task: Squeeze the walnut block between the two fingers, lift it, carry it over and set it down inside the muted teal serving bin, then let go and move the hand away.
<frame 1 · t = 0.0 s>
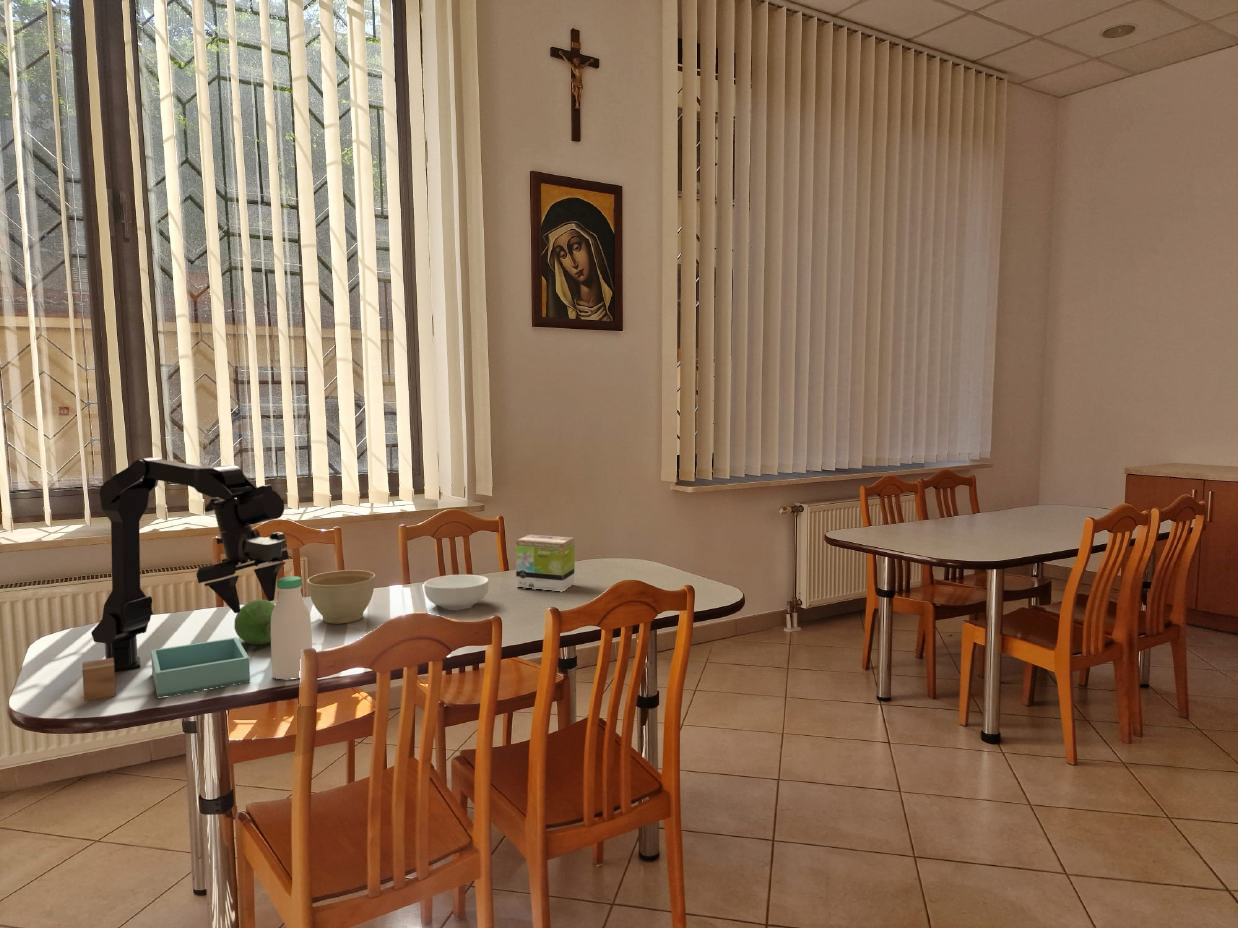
hand: (255, 606, 158), 15 cm above the table, tool pointing down, fingers open, 9 cm apart
planter bowl: (342, 619, 204), on the table
milk bottle: (292, 675, 164), on the table
cereal bowl: (457, 606, 217), on the table
walnut block: (100, 694, 154), on the table
tea box: (545, 587, 238), on the table
fruit: (261, 645, 184), on the table
teal bin: (200, 678, 162), on the table
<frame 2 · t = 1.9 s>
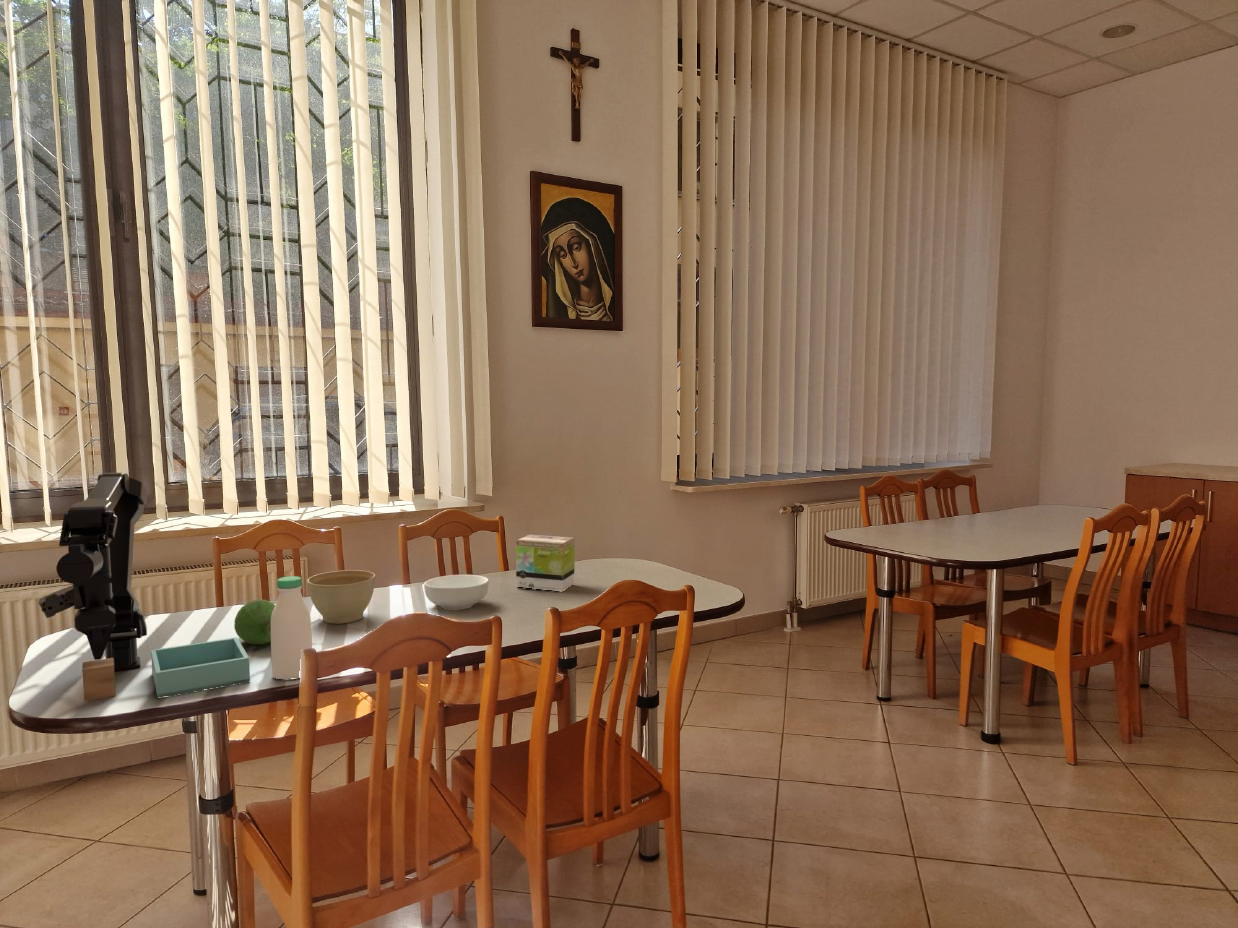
hand: (97, 652, 153), 8 cm above the table, tool pointing down, fingers open, 9 cm apart
nothing on the table moved.
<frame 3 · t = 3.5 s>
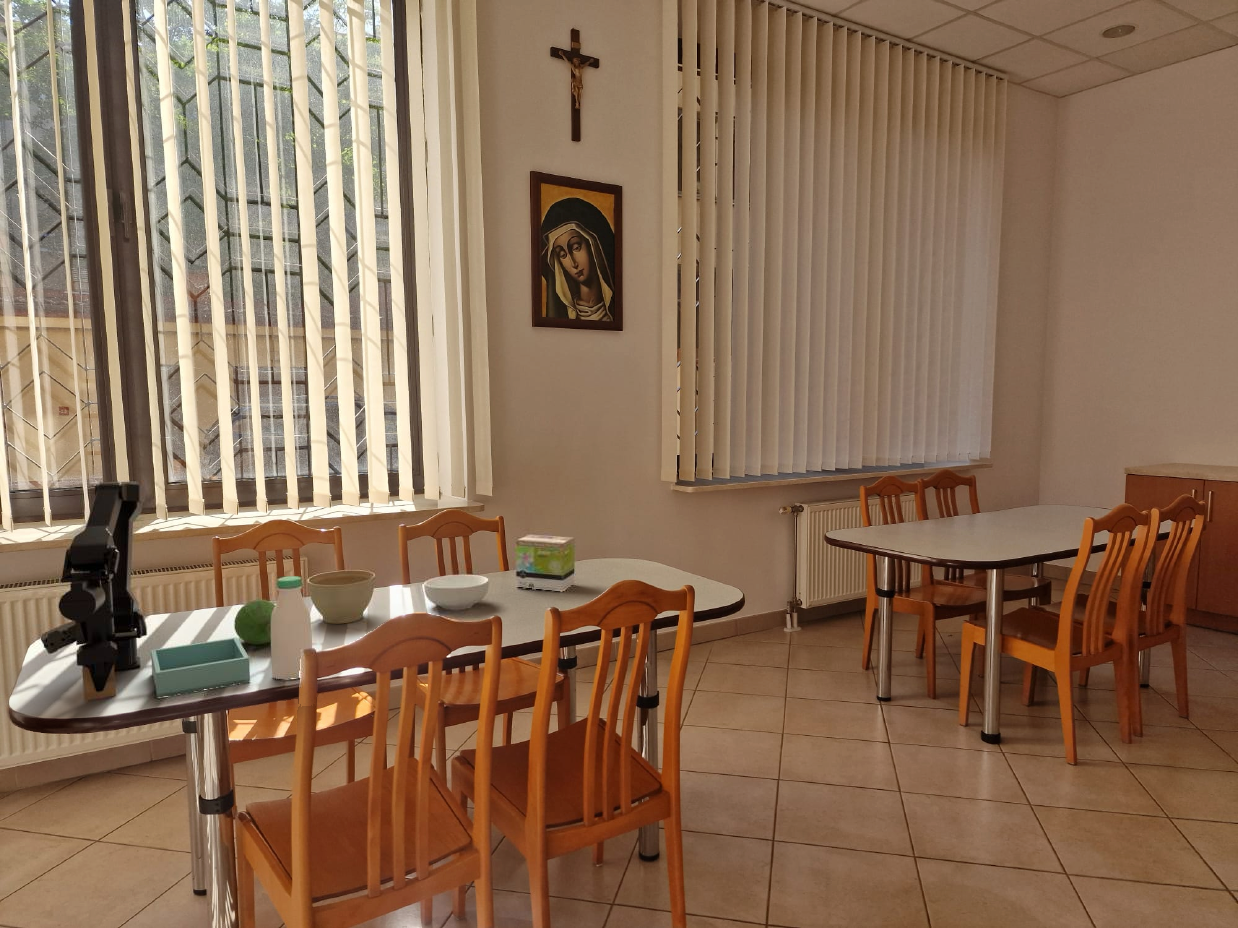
hand: (99, 686, 154), 1 cm above the table, tool pointing down, fingers closed on walnut block, 5 cm apart
walnut block: (99, 693, 154), on the table, touching gripper
everything else where it was.
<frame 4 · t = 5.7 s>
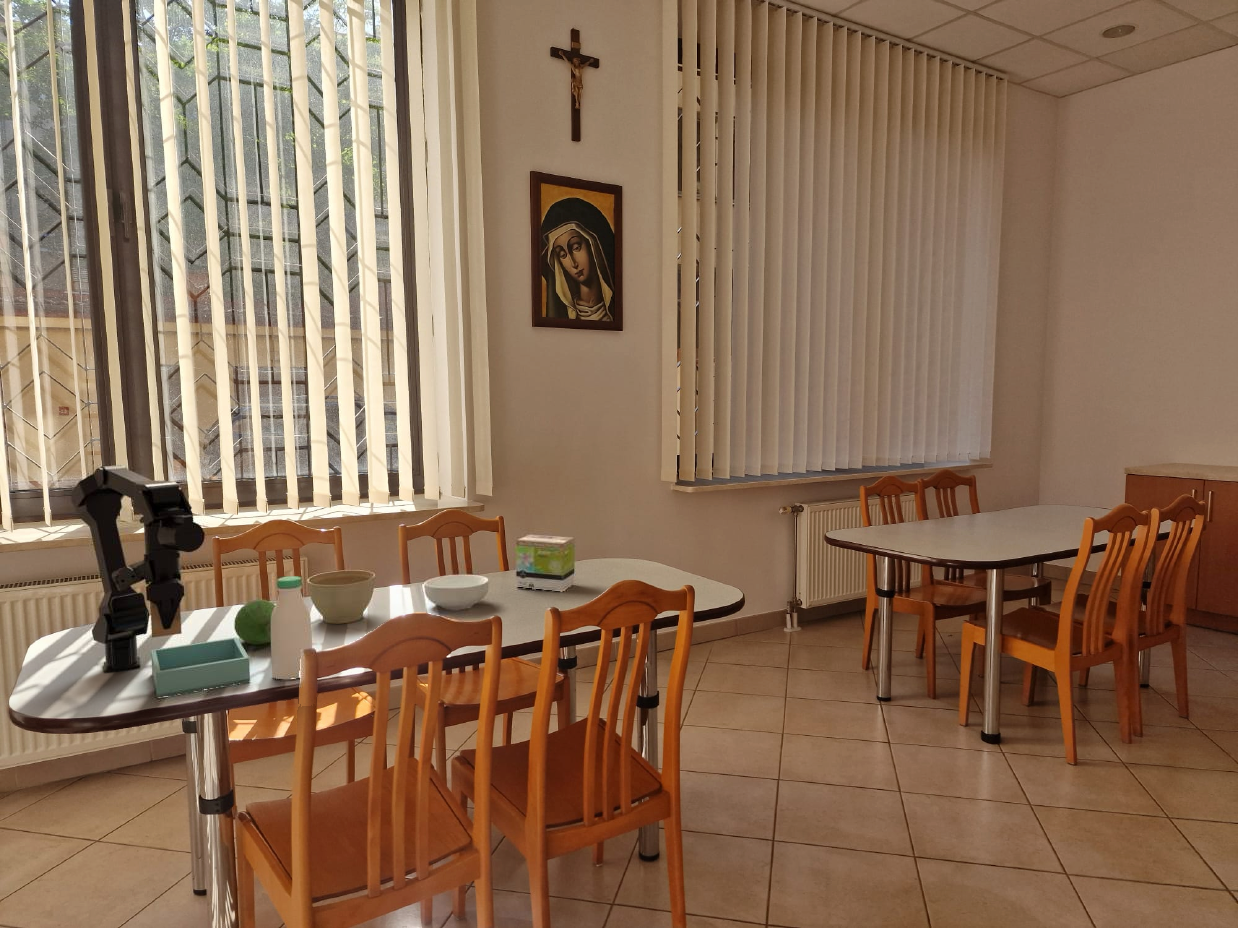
hand: (166, 625, 158), 12 cm above the table, tool pointing down, fingers closed on walnut block, 5 cm apart
walnut block: (166, 632, 158), point 10 cm above the table, touching gripper
everything else where it was.
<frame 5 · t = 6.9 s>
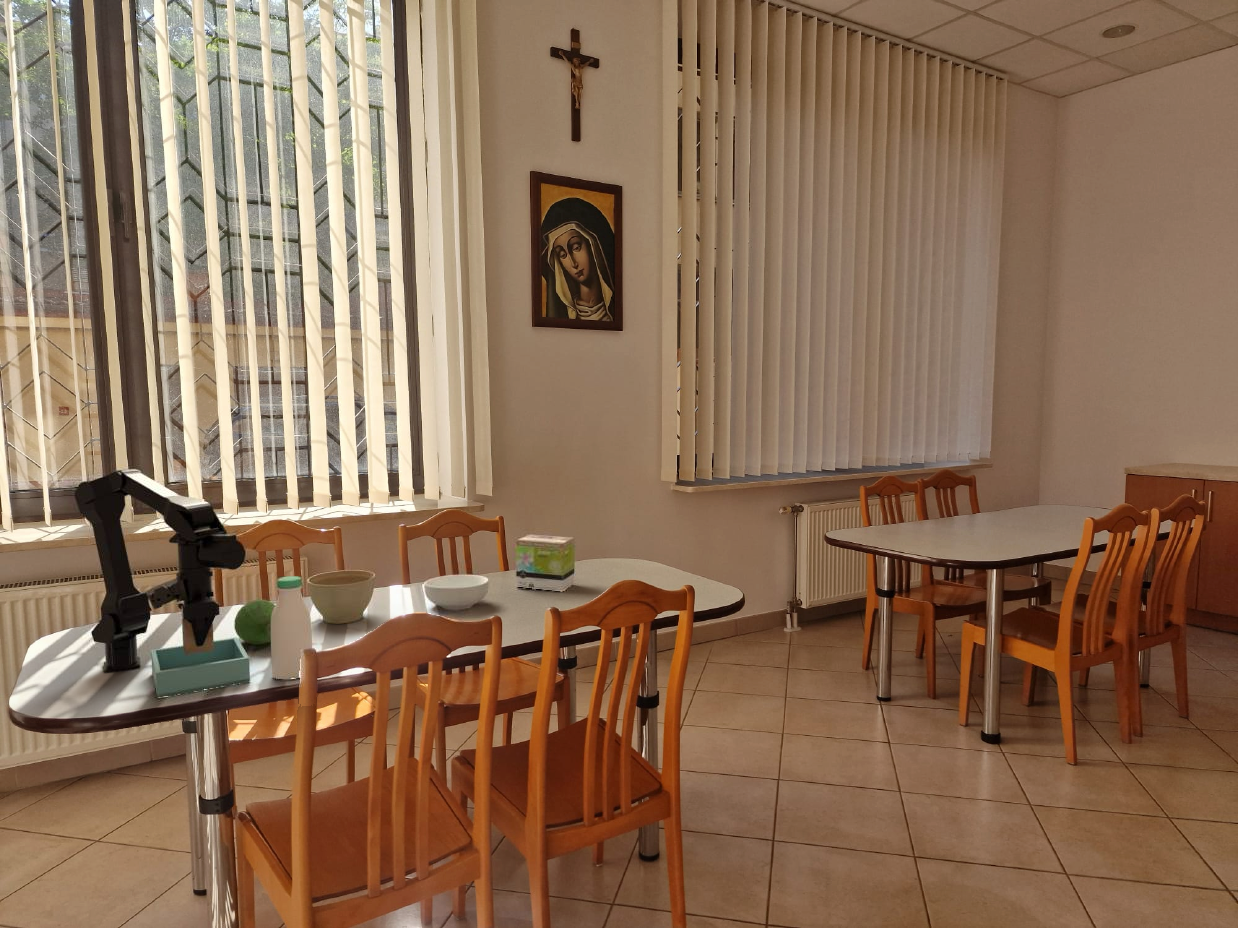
hand: (198, 642, 161), 7 cm above the table, tool pointing down, fingers closed on walnut block, 5 cm apart
walnut block: (198, 648, 162), point 6 cm above the table, touching gripper
everything else where it was.
when the fingers open (4 cm above the table, at t = 7.9 s): walnut block drops 2 cm, resting on teal bin.
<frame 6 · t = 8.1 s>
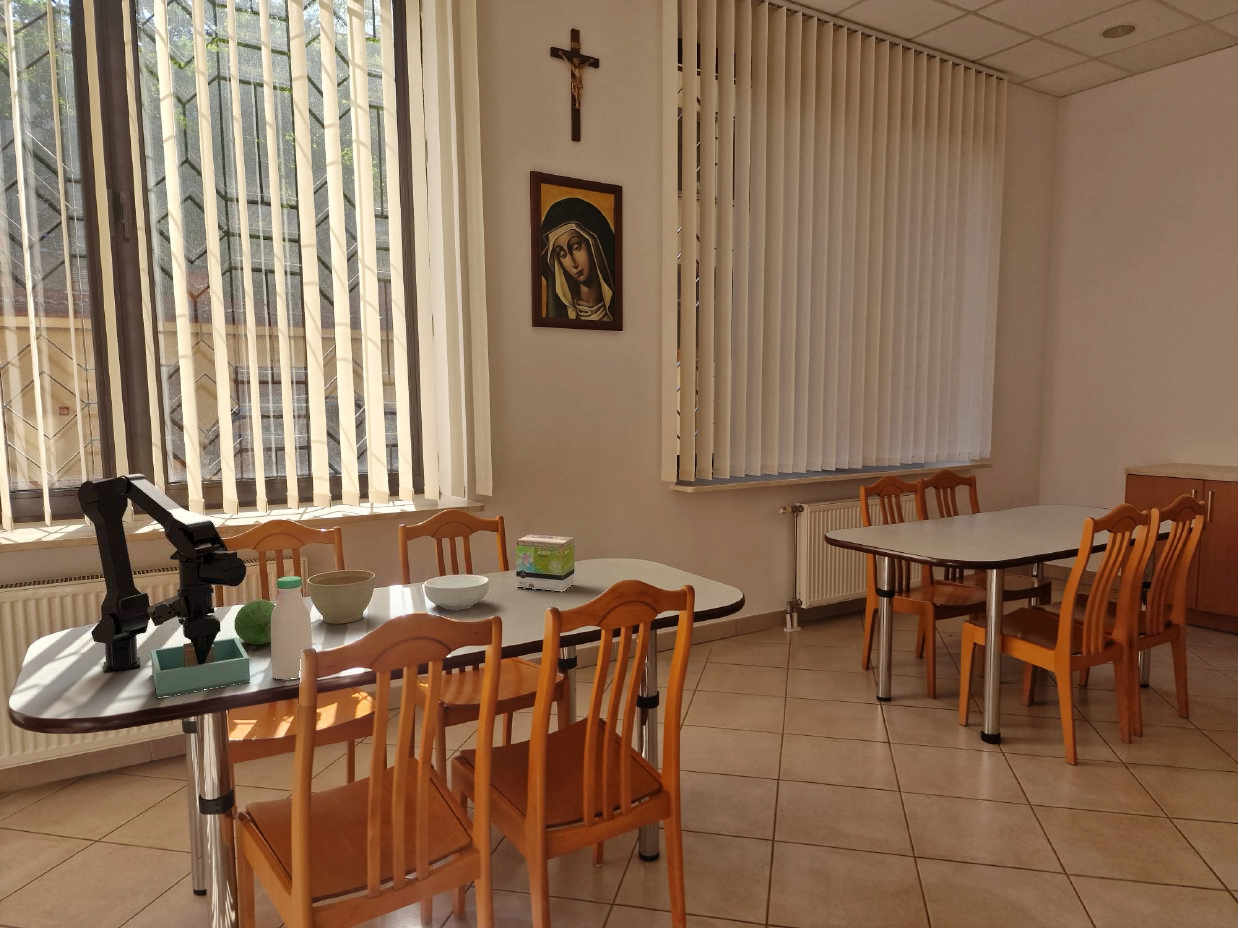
hand: (199, 658, 162), 4 cm above the table, tool pointing down, fingers open, 7 cm apart
walnut block: (199, 674, 162), point 1 cm above the table, touching teal bin
everything else where it was.
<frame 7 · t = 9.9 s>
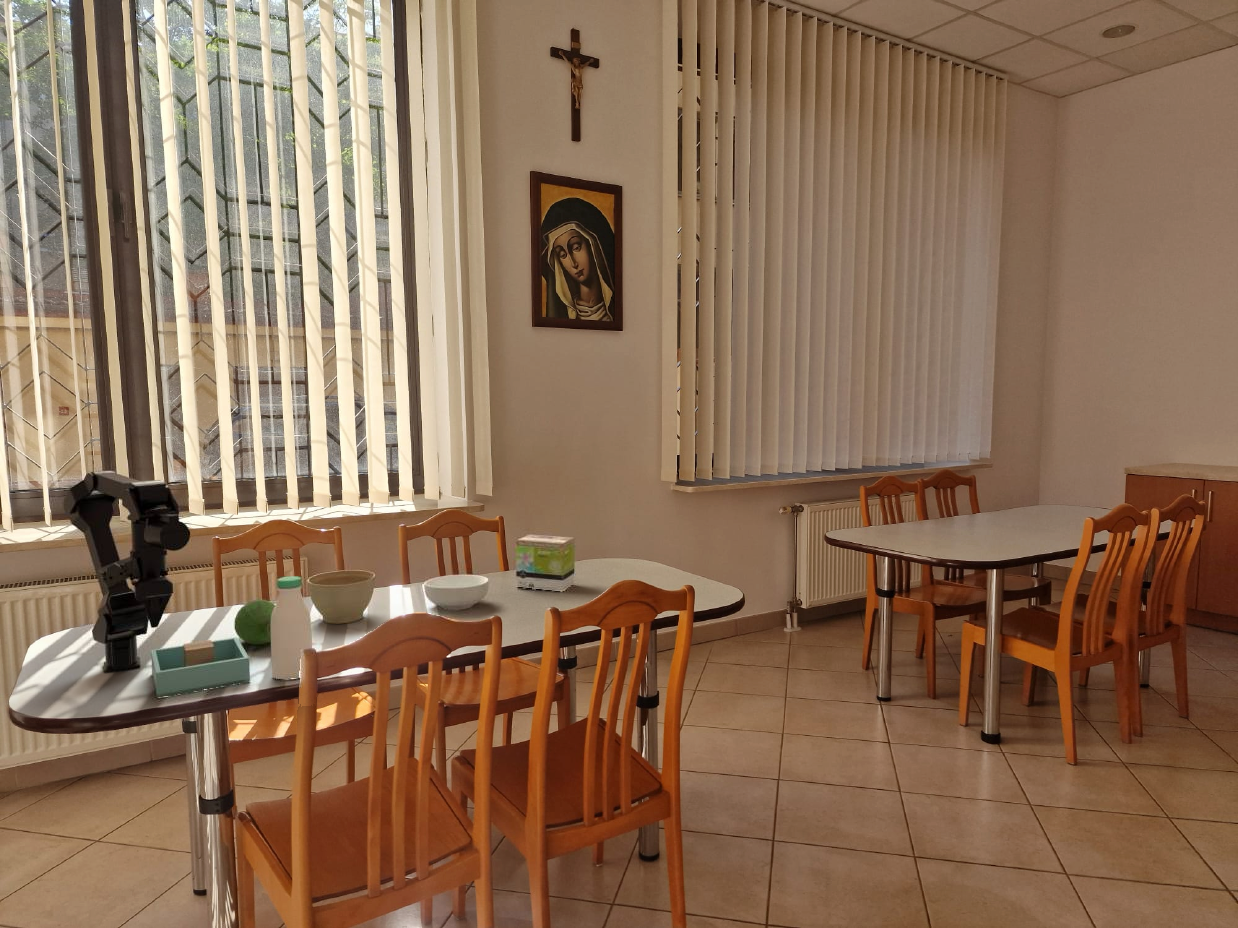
hand: (152, 621, 161), 12 cm above the table, tool pointing down, fingers open, 9 cm apart
nothing on the table moved.
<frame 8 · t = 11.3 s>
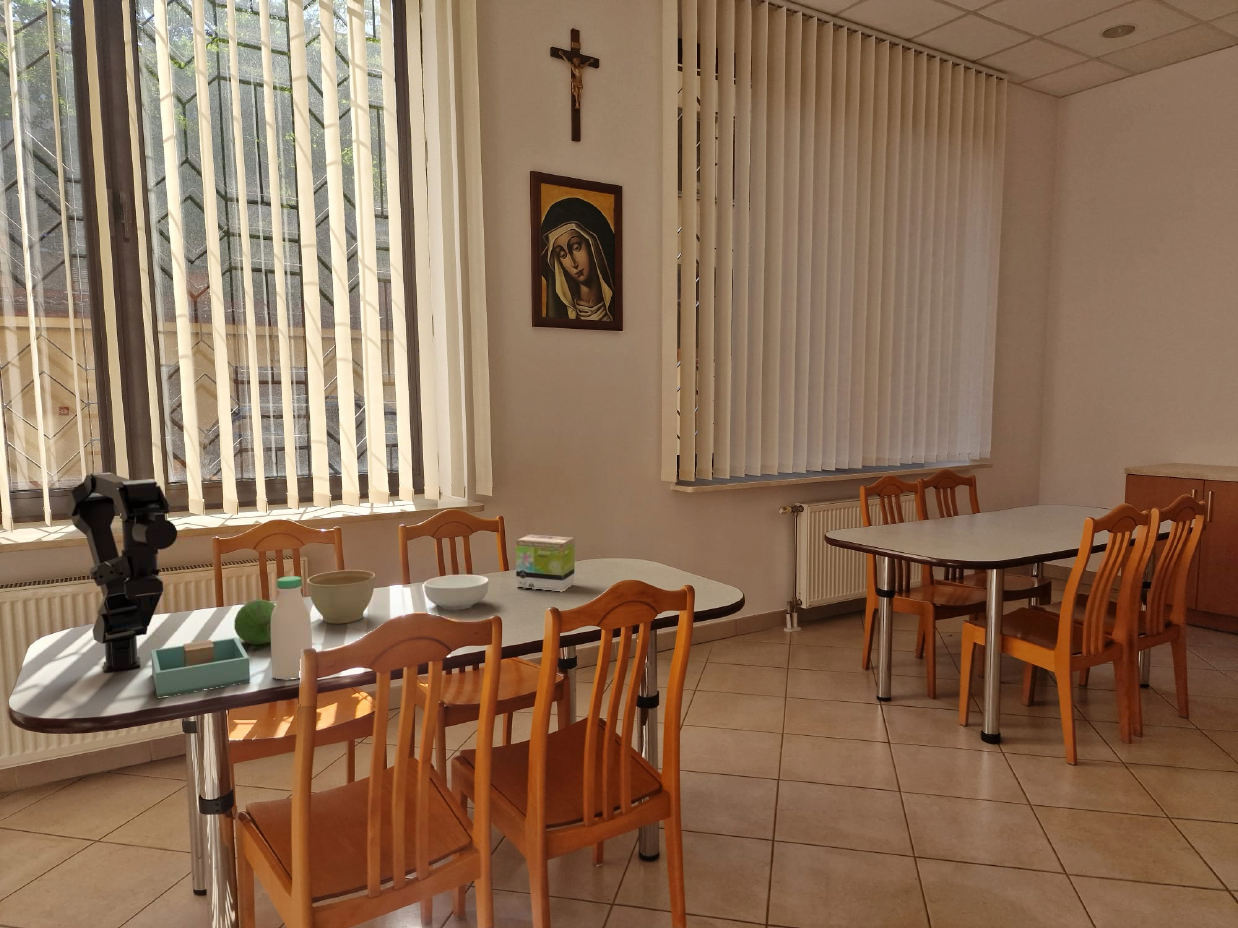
hand: (144, 620, 160), 12 cm above the table, tool pointing down, fingers open, 9 cm apart
nothing on the table moved.
at the end: walnut block inside the target area on the teal bin (0.1 cm from its centre), point 0.8 cm above the teal bin's base; the gripper is holding nothing; milk bottle moved 0.2 cm from its start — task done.
